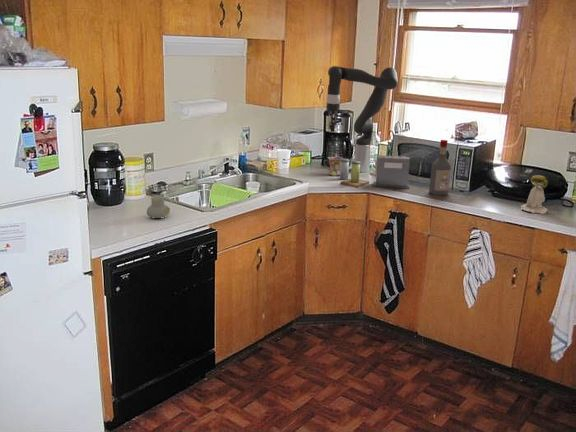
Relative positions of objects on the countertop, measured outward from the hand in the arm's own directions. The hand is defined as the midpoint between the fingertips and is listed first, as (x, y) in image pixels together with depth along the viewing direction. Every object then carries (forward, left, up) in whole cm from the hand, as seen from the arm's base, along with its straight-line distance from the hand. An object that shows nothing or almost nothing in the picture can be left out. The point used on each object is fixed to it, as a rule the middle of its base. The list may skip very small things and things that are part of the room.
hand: (331, 130), depth 347 cm
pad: (-5, +15, -30) cm, 34 cm away
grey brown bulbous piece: (+114, -18, -31) cm, 119 cm away
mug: (-14, -7, -31) cm, 34 cm away
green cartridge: (-5, +15, -29) cm, 33 cm away
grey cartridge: (-10, +4, -30) cm, 32 cm away
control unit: (-16, +33, -30) cm, 47 cm away
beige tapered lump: (-24, +112, -31) cm, 118 cm away
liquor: (-20, +61, -31) cm, 71 cm away
